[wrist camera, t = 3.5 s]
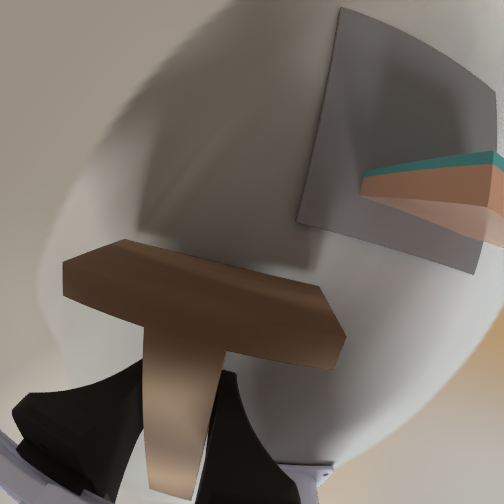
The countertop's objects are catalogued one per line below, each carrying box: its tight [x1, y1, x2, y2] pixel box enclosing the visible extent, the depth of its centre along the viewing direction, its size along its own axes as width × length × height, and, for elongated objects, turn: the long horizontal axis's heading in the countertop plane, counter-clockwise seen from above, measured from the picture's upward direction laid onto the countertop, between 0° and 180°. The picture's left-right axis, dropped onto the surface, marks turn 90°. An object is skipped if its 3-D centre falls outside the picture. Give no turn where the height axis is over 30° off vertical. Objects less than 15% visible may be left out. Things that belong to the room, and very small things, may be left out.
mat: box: [296, 7, 497, 275], centre depth 11 cm, size 12×12×1 cm
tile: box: [359, 151, 504, 248], centre depth 7 cm, size 1×7×8 cm, turn 77°
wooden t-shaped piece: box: [63, 239, 346, 501], centre depth 11 cm, size 13×9×4 cm
